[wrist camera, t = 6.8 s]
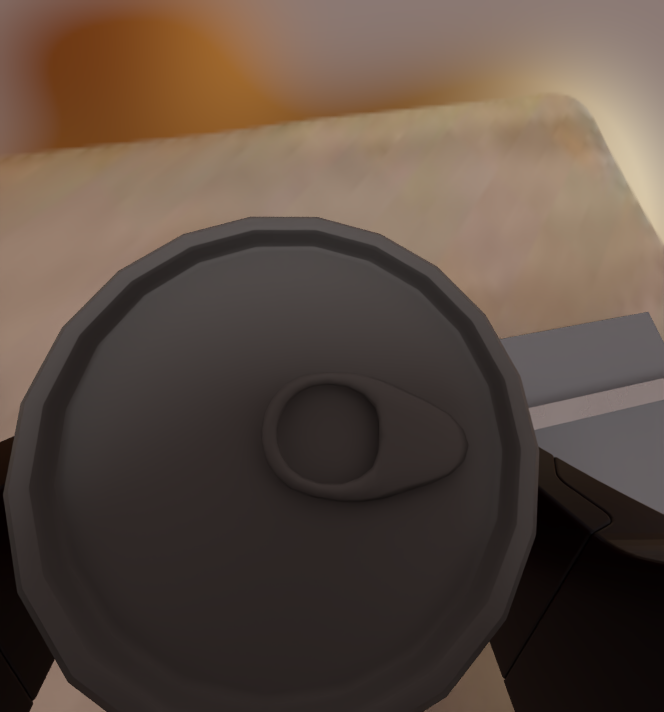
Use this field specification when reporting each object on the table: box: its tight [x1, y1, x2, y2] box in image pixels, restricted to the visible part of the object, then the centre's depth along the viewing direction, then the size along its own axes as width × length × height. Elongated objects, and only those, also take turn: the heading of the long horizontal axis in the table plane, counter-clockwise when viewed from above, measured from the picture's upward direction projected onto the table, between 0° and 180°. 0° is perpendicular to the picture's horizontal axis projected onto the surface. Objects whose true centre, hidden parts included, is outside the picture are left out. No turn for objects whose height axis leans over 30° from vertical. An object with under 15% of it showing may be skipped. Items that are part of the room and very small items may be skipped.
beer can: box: [3, 217, 539, 712], centre depth 9 cm, size 7×7×12 cm
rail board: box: [500, 312, 664, 514], centre depth 18 cm, size 12×15×3 cm
